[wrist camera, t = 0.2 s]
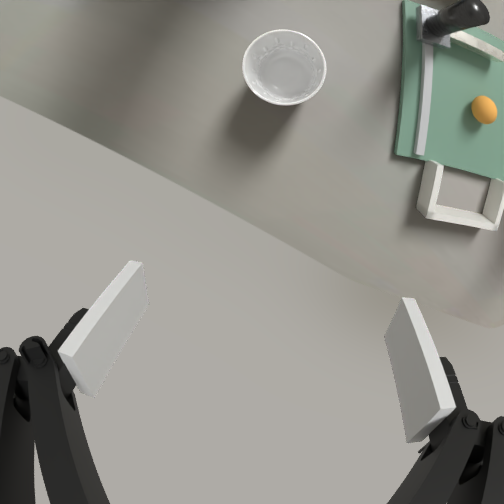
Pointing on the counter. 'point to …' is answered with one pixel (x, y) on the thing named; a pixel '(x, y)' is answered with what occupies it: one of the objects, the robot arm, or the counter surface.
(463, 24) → the black lever handle
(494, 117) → the ball
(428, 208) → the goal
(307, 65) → the white cup
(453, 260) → the counter surface
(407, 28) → the pitch
